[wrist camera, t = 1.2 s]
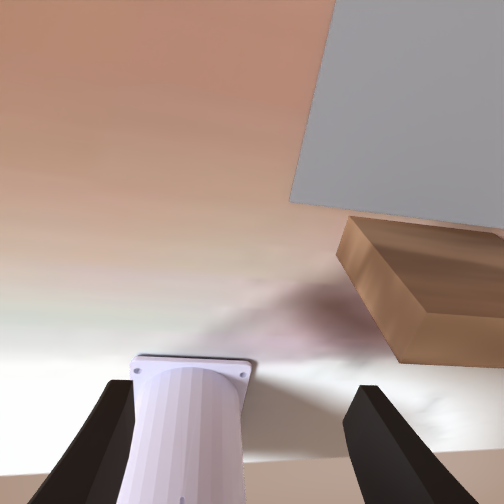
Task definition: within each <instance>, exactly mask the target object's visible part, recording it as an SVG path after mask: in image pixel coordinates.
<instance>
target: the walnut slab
mask: <svg viewBox="0 0 504 504" xmlns="http://www.w3.org/2000/svg"><path fill="white" fill-rule="evenodd" d="M336 256H337V258H338V259H339V261H340V263H341V264H342V266H343V268H344V270H345V271H346V273H347V275H348V276H349V278H350V280H351V282H352V283H353V285H354V287H355V288H356V290H357V292H358V293H359V295H360V297H361V299H362V300H363V302H364V304H365V305H366V307H367V309H368V310H369V312H370V314H371V316H372V317H373V319H374V321H375V322H376V324H377V326H378V328H379V329H380V331H381V333H382V334H383V336H384V338H385V339H386V341H387V343H388V345H389V346H390V348H391V350H392V351H393V353H394V355H395V356H396V358H397V360H398V362H399V363H401V364H422V365H443V366H465V367H486V368H504V240H502V239H501V238H499V237H498V236H496V235H495V234H493V233H487V232H479V231H471V230H462V229H454V228H446V227H438V226H429V225H421V224H413V223H405V222H396V221H388V220H380V219H371V218H363V217H355V216H349V217H348V220H347V223H346V226H345V229H344V232H343V235H342V238H341V241H340V244H339V247H338V250H337V253H336Z"/></svg>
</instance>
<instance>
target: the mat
mask: <svg viewBox="0 0 504 504" xmlns="http://www.w3.org/2000/svg"><path fill="white" fill-rule="evenodd" d="M289 202H292V203H300V204H308V205H316V206H324V207H332V208H340V209H349V210H357V211H365V212H373V213H381V214H389V215H397V216H405V217H413V218H421V219H429V220H437V221H445V222H453V223H462V224H470V225H478V226H486V227H494V228H502V229H504V0H336V2H335V6H334V10H333V15H332V19H331V23H330V28H329V32H328V36H327V40H326V45H325V49H324V53H323V57H322V62H321V66H320V70H319V75H318V79H317V83H316V87H315V92H314V96H313V100H312V104H311V109H310V113H309V117H308V121H307V126H306V130H305V134H304V139H303V143H302V147H301V151H300V156H299V160H298V164H297V168H296V173H295V177H294V181H293V186H292V190H291V194H290V198H289Z"/></svg>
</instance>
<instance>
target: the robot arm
mask: <svg viewBox="0 0 504 504" xmlns="http://www.w3.org/2000/svg"><path fill="white" fill-rule="evenodd" d="M137 368H139V369H137ZM251 370H252V368H251V363H250V362H248V361H237V360H215V359H192V358H170V357H148V356H136V357H133V358H132V359H131V362H130V380H111V381H109V382H108V383H107V385H106V387H105V389H104V391H103V393H102V395H101V396H100V398H99V400H98V402H97V403H96V405H95V407H94V408H93V410H92V412H91V413H90V415H89V417H88V418H87V420H86V421H85V423H84V424H83V426H82V428H81V429H80V431H79V432H78V434H77V435H76V437H75V438H74V440H73V441H72V443H71V444H70V446H69V447H68V449H67V450H66V451H65V453H64V454H63V456H62V457H61V459H60V460H59V462H58V463H57V464H56V466H55V467H54V469H53V470H52V471H51V473H50V474H49V475H48V477H47V478H46V479H45V481H44V482H43V483H42V485H41V486H40V488H39V489H38V490H37V492H36V493H35V494H34V496H33V497H32V498H31V500H30V501H29V502H28V503H27V504H246V498H245V483H244V468H243V452H242V437H241V421H240V416H241V412H242V408H243V404H244V399H245V395H246V391H247V387H248V383H249V378H250V374H251ZM243 372H244V373H243ZM343 427H344V432H345V437H346V442H347V447H348V451H349V456H350V459H351V462H352V465H353V468H354V471H355V474H356V477H357V481H358V484H359V487H360V490H361V493H362V495H363V499H364V502H365V504H479V503H478V502H477V501H476V500H475V499H474V498H473V497H472V496H471V495H470V494H469V493H468V492H467V491H466V490H465V489H464V487H463V486H462V485H461V484H460V483H459V482H458V481H457V480H456V479H455V478H454V476H453V475H452V474H451V473H449V471H448V470H447V469H446V468H445V467H444V465H443V464H442V463H441V462H440V461H439V460H438V459H437V458H436V456H435V455H434V454H433V453H432V452H431V450H430V449H429V448H428V447H427V446H426V444H425V443H424V442H423V441H422V440H421V439H420V437H419V436H418V435H417V434H416V433H415V431H414V430H413V429H412V428H411V427H410V425H409V424H408V423H407V422H406V420H405V419H404V418H403V417H402V415H401V414H400V413H399V412H398V411H397V409H396V408H395V407H394V406H393V404H392V403H391V402H390V401H389V399H388V398H387V397H386V396H385V394H384V393H383V392H382V391H381V389H380V388H379V387H378V386H374V385H360V386H359V388H358V390H357V392H356V395H355V397H354V399H353V401H352V403H351V405H350V407H349V409H348V411H347V413H346V415H345V418H344V420H343Z"/></svg>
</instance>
